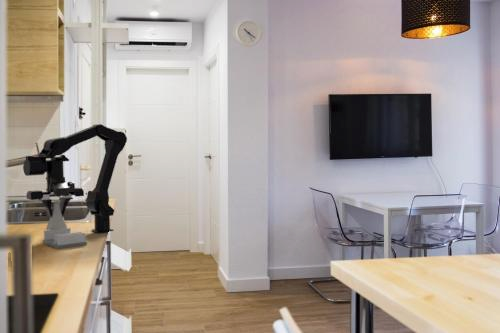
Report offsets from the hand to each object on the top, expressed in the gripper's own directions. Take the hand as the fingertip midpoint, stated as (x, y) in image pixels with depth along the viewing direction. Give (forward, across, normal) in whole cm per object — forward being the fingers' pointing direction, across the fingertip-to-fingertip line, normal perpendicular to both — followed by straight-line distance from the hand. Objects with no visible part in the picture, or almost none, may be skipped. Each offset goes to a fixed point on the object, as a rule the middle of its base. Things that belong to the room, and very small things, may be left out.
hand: (56, 217), depth 191 cm
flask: (+4, 0, 0) cm, 4 cm away
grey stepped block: (+7, -2, -13) cm, 15 cm away
